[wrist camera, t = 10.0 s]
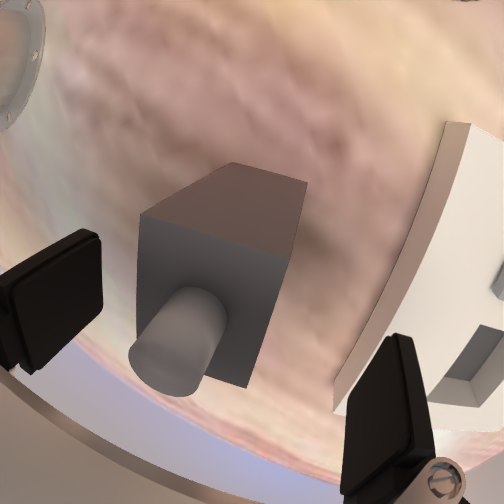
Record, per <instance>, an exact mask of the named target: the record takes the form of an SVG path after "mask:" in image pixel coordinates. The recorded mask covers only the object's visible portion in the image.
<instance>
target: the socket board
mask: <svg viewBox="0 0 504 504" xmlns="http://www.w3.org/2000/svg"><path fill="white" fill-rule="evenodd" d="M503 268H504V142H503V141H501V140H499V139H498V138H496V137H494V136H493V135H491V134H489V133H487V132H486V131H484V130H482V129H480V128H479V127H477V126H475V125H473V124H471V123H461V122H450V121H446V125H445V129H444V132H443V136H442V139H441V143H440V146H439V149H438V153H437V156H436V159H435V162H434V166H433V169H432V172H431V175H430V178H429V181H428V184H427V186H426V189H425V192H424V195H423V198H422V200H421V203H420V206H419V209H418V211H417V214H416V216H415V219H414V222H413V224H412V227H411V229H410V232H409V234H408V236H407V239H406V241H405V244H404V246H403V248H402V251H401V253H400V255H399V258H398V260H397V262H396V264H395V267H394V269H393V271H392V273H391V275H390V278H389V280H388V282H387V284H386V286H385V288H384V290H383V292H382V294H381V296H380V299H379V301H378V303H377V305H376V307H375V309H374V311H373V312H372V314H371V316H370V318H369V320H368V322H367V324H366V326H365V328H364V330H363V332H362V333H361V335H360V337H359V339H358V341H357V343H356V344H355V346H354V348H353V350H352V351H351V353H350V355H349V357H348V358H347V360H346V362H345V364H344V365H343V367H342V369H341V370H340V372H339V374H338V375H337V377H336V379H335V380H334V398H333V414H338V415H343V416H346V407H347V399H348V396H349V394H350V392H351V391H352V389H353V388H354V386H355V385H356V383H357V382H358V380H359V379H360V377H361V376H362V374H363V373H364V371H365V370H366V368H367V366H368V365H369V363H370V362H371V360H372V358H373V357H374V355H375V353H376V352H377V350H378V348H379V347H380V345H381V343H382V342H383V340H384V338H385V337H386V336H391V335H392V334H393V333H399V334H402V335H406V336H410V337H412V339H413V341H414V345H415V349H416V353H417V357H418V361H419V365H420V370H421V374H422V379H423V383H424V388H425V393H426V398H427V403H428V408H429V414H430V419H431V425H432V429H441V430H454V431H474V432H499V431H500V430H501V429H502V428H503V427H504V301H502V300H499V299H498V298H497V297H496V296H495V294H494V293H493V292H492V289H493V287H494V286H495V284H496V282H497V280H498V278H499V276H500V274H501V272H502V270H503Z"/></svg>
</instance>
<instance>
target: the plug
mask: <svg viewBox="0 0 504 504" xmlns="http://www.w3.org/2000/svg"><path fill="white" fill-rule="evenodd" d="M306 188H307V182H304V181H300V180H297V179H294V178H290V177H287V176H283V175H279V174H276V173H272V172H268V171H265V170H261V169H257V168H253V167H249V166H245V165H242V164H238V163H234V162H232V163H230V164H228V165H226V166H224V167H222V168H220V169H218V170H216V171H215V172H213V173H211V174H209V175H207V176H205V177H204V178H202V179H200V180H198V181H196V182H195V183H193V184H191V185H189V186H187V187H186V188H184V189H182V190H180V191H179V192H177V193H175V194H173V195H172V196H170V197H168V198H167V199H165V200H163V201H162V202H160V203H158V204H156V205H155V206H153V207H151V208H150V209H148V210H147V211H145V212H143V213H142V214H140V226H139V241H138V260H137V295H136V330H137V340H136V341H135V343H134V344H133V345H132V346H131V348H130V350H129V354H128V357H129V362H130V365H131V367H132V369H133V370H134V372H135V373H136V374H137V376H138V377H139V378H140V379H141V380H142V381H143V382H144V383H146V384H147V385H148V386H150V387H151V388H153V389H155V390H156V391H158V392H161V393H163V394H166V395H169V396H175V397H185V396H189V395H191V394H193V393H194V392H195V391H196V390H197V388H198V386H199V384H200V382H201V380H202V378H203V375H206V376H209V377H212V378H215V379H218V380H221V381H224V382H227V383H230V384H233V385H236V386H239V387H242V388H247V385H248V382H249V380H250V377H251V374H252V371H253V368H254V365H255V363H256V360H257V357H258V354H259V351H260V348H261V345H262V342H263V339H264V336H265V333H266V330H267V327H268V324H269V321H270V318H271V315H272V312H273V309H274V306H275V303H276V300H277V297H278V294H279V291H280V288H281V285H282V281H283V278H284V275H285V272H286V269H287V266H288V263H289V259H290V255H291V251H292V247H293V243H294V239H295V235H296V231H297V226H298V222H299V218H300V214H301V209H302V205H303V201H304V196H305V192H306Z"/></svg>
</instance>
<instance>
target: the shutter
mask: <svg viewBox="0 0 504 504" xmlns="http://www.w3.org/2000/svg"><path fill="white" fill-rule="evenodd" d="M492 292H493V293H494V294H495V296H496V297H497V298H498V299H499V300H502V301H504V268H503V270H502V272H501V274H500V276H499V278H498V280H497V282H496V284H495V286H494V287H493V289H492Z"/></svg>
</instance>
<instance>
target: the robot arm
mask: <svg viewBox="0 0 504 504" xmlns="http://www.w3.org/2000/svg"><path fill="white" fill-rule="evenodd" d="M30 1H31V5H30V7H29V8H28V9H27V5H28V3H29V2H30ZM45 32H46V26H45V15H44V11H43V7H42V5H41V3H40V1H39V0H9V1H7V2H6V3H4V4H3V5H2V6H1V7H0V132H1V131H3V130H5V129H7V128H8V127H10V126H11V125H12V124H13V123H14V122H15V121H16V119H17V118H18V117H19V115H20V114H21V112H22V111H23V109H24V107H25V105H26V104H27V102H28V99H29V97H30V95H31V93H32V90H33V88H34V85H35V82H36V79H37V76H38V73H39V69H40V65H41V61H42V56H43V50H44V45H45ZM36 51H37V52H38V56H37V59H36V60H35V61H34V60H33V56H34V53H35V52H36ZM9 112H10V114H11V118H10V120H8V113H9ZM102 308H103V289H102V250H101V240H100V239H99V236H98V234H97V233H95V232H92V231H89V230H87V229H83V228H82V229H79V230H78V231H76V232H74V233H72V234H70V235H68V236H66V237H65V238H63V239H61V240H59V241H57V242H56V243H54V244H52V245H50V246H48V247H47V248H45V249H43V250H41V251H40V252H38V253H36V254H35V255H33V256H31V257H29V258H28V259H26V260H24V261H23V262H21V263H19V264H18V265H16V266H15V267H13V268H11V269H10V270H8V271H6V272H5V273H3V274H2V275H0V504H264V503H259V502H256V501H252V500H249V499H245V498H242V497H238V496H235V495H232V494H228V493H225V492H222V491H219V490H216V489H213V488H210V487H208V486H205V485H202V484H199V483H197V482H194V481H191V480H189V479H186V478H184V477H181V476H178V475H176V474H174V473H171V472H169V471H167V470H165V469H162V468H160V467H158V466H156V465H153V464H151V463H149V462H147V461H145V460H143V459H141V458H139V457H137V456H135V455H132V454H130V453H129V452H127V451H125V450H123V449H121V448H119V447H117V446H116V445H114V444H112V443H110V442H108V441H106V440H105V439H103V438H101V437H100V436H98V435H96V434H94V433H93V432H91V431H89V430H88V429H86V428H85V427H83V426H81V425H80V424H78V423H77V422H75V421H73V420H72V419H70V418H69V417H67V416H66V415H64V414H63V413H61V412H60V411H58V410H57V409H55V408H54V407H53V406H51V405H50V404H48V403H47V402H46V401H44V400H43V399H42V398H40V397H39V396H38V395H36V394H35V393H34V392H32V391H31V390H30V389H28V388H27V387H26V386H25V385H23V384H22V383H21V382H20V381H18V380H17V379H16V378H15V377H14V375H15V366H16V365H17V364H18V363H19V364H20V367H21V368H22V369H23V370H25V371H26V372H27V373H28V374H30V375H32V374H33V373H34V372H35V371H36V370H40V369H42V368H43V367H44V366H45V365H46V364H47V363H48V362H49V361H50V360H51V359H52V358H53V357H54V356H55V355H56V354H57V353H58V352H59V351H60V350H61V349H62V348H63V347H64V346H65V345H66V344H68V343H69V342H70V341H71V340H72V339H73V338H74V337H75V336H76V335H77V334H78V333H79V332H80V331H81V330H82V329H83V328H85V327H86V326H87V325H88V324H89V323H90V322H91V321H92V320H93V319H94V318H95V317H96V316H98V315H99V314H100V312H101V311H102ZM465 489H466V479H465V474H464V472H463V471H462V469H461V467H460V466H459V465H458V464H457V463H456V462H454V461H453V460H451V459H449V458H446V457H437V458H436V454H435V445H434V438H433V431H432V425H431V419H430V414H429V408H428V403H427V398H426V393H425V388H424V383H423V379H422V374H421V370H420V365H419V361H418V357H417V353H416V349H415V345H414V341H413V339H412V337H410V336H406V335H402V334H399V333H393V334H392V335H391V336H386V337H385V338H384V340H383V342H382V343H381V345H380V347H379V348H378V350H377V352H376V353H375V355H374V357H373V358H372V360H371V362H370V363H369V365H368V366H367V368H366V370H365V371H364V373H363V374H362V376H361V377H360V379H359V380H358V382H357V383H356V385H355V386H354V388H353V389H352V391H351V392H350V394H349V396H348V399H347V407H346V425H345V440H344V453H343V464H342V474H341V484H340V493H341V494H342V495H344V501H343V504H470V503H469V502H468V501H467V500H466V499H465V498H464V497H463V494H464V492H465Z"/></svg>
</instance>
